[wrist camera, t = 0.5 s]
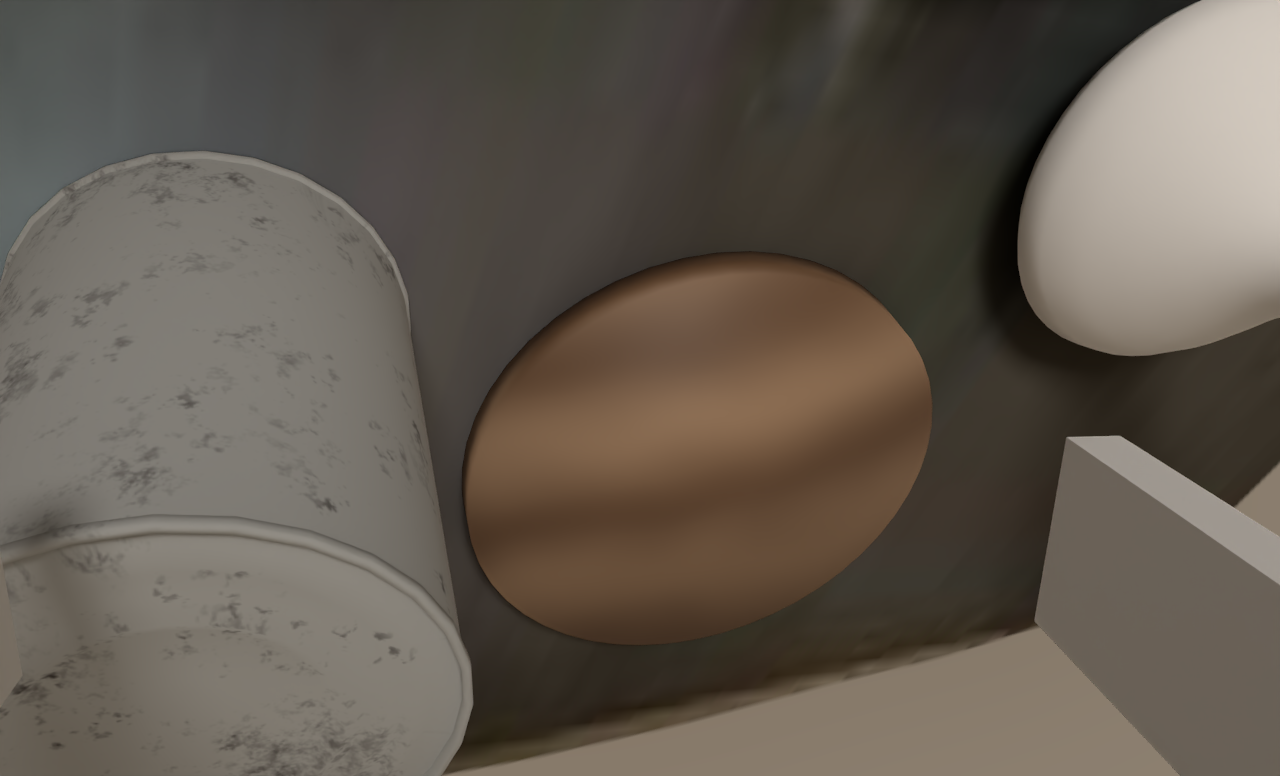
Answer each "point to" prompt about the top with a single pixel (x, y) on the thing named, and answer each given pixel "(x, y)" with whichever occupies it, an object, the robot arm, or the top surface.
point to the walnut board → (694, 448)
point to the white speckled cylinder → (218, 486)
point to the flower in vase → (1163, 189)
